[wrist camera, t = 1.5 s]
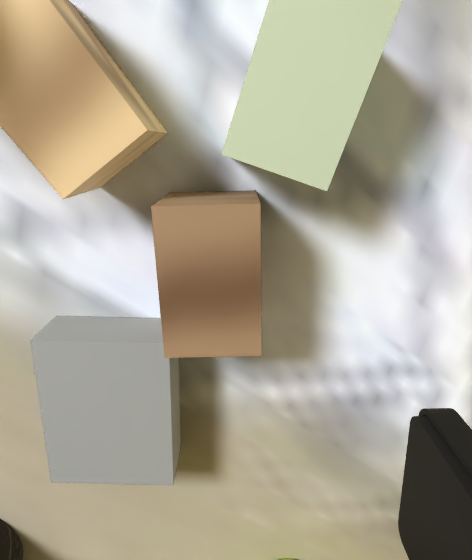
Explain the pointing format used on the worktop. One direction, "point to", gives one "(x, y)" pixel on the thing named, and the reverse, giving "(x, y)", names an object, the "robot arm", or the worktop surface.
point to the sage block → (308, 85)
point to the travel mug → (9, 544)
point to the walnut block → (209, 273)
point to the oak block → (68, 97)
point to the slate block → (108, 400)
